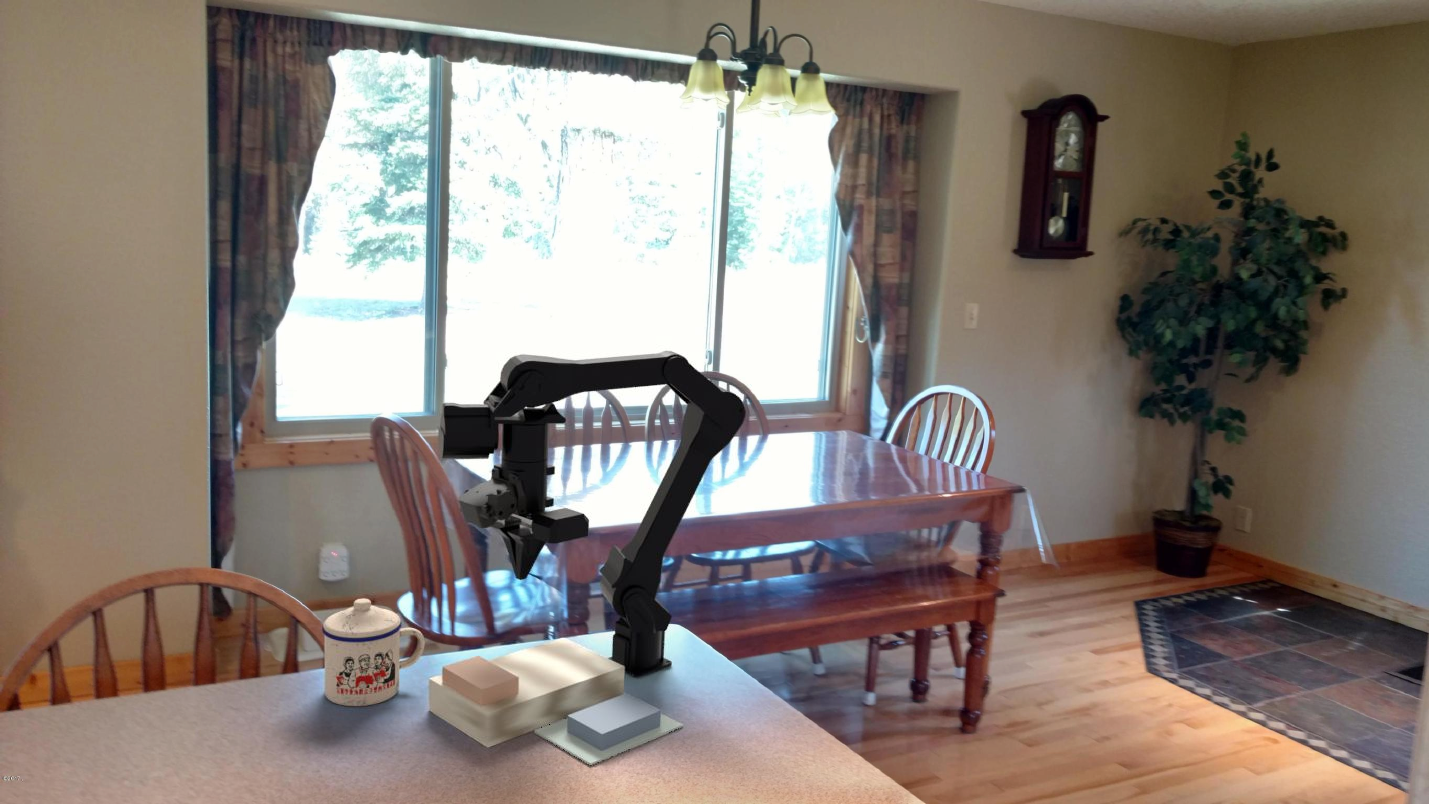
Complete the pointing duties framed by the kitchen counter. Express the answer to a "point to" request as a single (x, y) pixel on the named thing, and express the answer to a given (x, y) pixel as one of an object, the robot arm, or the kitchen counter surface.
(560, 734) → the mat
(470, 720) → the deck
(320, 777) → the kitchen counter surface
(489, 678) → the terracotta tile
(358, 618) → the teacup with lid
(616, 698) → the grey-blue rectangular block
